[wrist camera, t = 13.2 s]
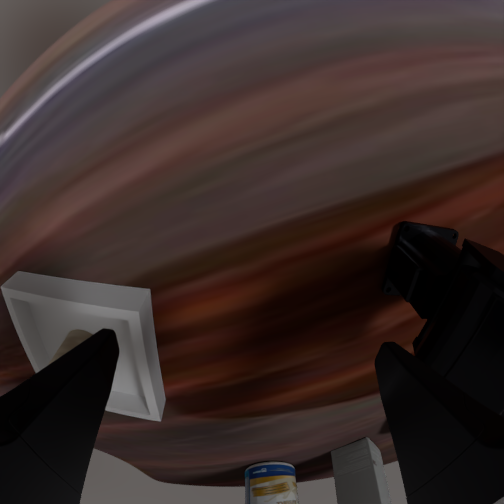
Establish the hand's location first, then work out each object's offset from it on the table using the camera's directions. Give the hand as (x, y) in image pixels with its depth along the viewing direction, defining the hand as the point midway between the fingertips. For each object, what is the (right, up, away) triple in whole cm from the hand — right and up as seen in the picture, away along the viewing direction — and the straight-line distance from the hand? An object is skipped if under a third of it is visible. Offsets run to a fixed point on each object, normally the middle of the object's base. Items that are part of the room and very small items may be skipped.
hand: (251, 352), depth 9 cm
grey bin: (-16, -6, +17) cm, 24 cm away
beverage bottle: (+3, -32, +29) cm, 44 cm away
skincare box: (+16, -29, +28) cm, 43 cm away
